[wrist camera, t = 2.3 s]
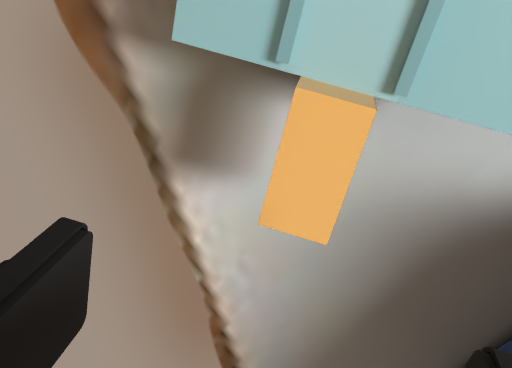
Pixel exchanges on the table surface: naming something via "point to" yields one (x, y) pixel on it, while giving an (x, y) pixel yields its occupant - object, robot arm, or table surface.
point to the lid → (356, 80)
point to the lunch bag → (507, 347)
